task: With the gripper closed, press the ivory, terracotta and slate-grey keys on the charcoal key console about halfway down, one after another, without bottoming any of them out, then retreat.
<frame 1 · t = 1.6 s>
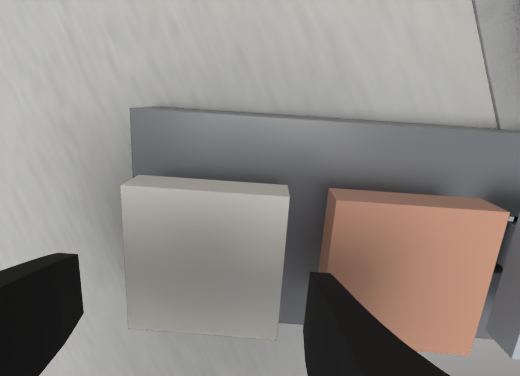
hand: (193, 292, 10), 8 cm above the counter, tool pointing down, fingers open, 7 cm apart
ivory key: (214, 240, 13), point 5 cm above the counter, slide at 0.0 cm
key console: (356, 213, 18), on the counter
terracotta key: (385, 253, 13), point 5 cm above the counter, slide at 0.0 cm
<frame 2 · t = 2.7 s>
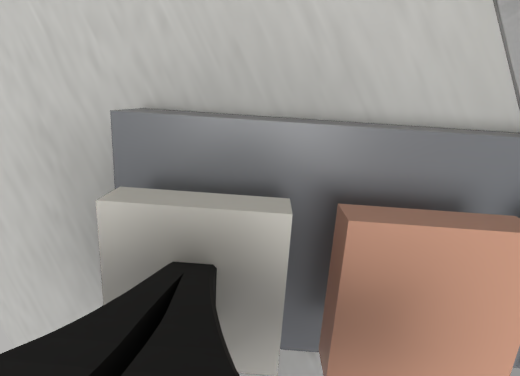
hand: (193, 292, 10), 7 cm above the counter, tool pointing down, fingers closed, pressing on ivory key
ivory key: (207, 259, 12), point 5 cm above the counter, slide at 0.2 cm, touching gripper
key console: (365, 226, 16), on the counter
terracotta key: (401, 276, 12), point 5 cm above the counter, slide at 0.0 cm
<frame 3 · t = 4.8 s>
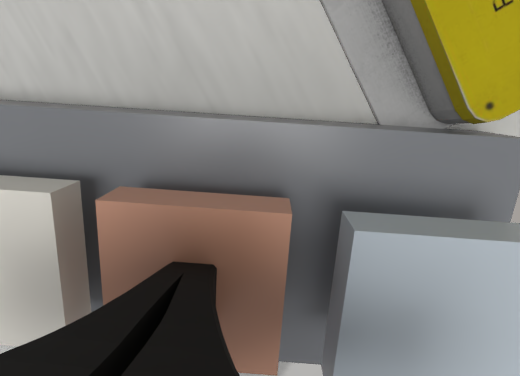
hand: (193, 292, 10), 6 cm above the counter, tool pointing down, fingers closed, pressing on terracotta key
ivory key: (24, 241, 12), point 3 cm above the counter, slide at 1.2 cm
key console: (222, 221, 16), on the counter
terracotta key: (206, 259, 12), point 4 cm above the counter, slide at 0.9 cm, touching gripper
slate key: (409, 287, 11), point 5 cm above the counter, slide at 0.0 cm
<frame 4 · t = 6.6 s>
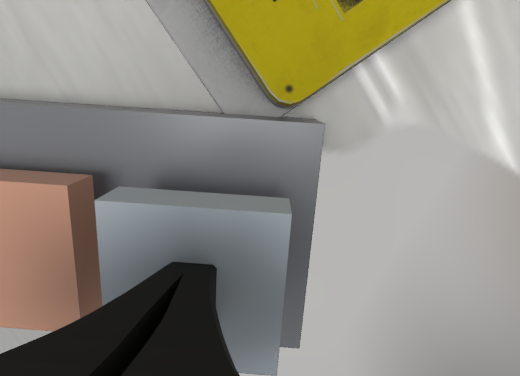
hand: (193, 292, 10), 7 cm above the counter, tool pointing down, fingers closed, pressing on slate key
key console: (86, 205, 16), on the counter
terracotta key: (39, 232, 13), point 3 cm above the counter, slide at 1.2 cm
slate key: (206, 259, 12), point 5 cm above the counter, slide at 0.1 cm, touching gripper
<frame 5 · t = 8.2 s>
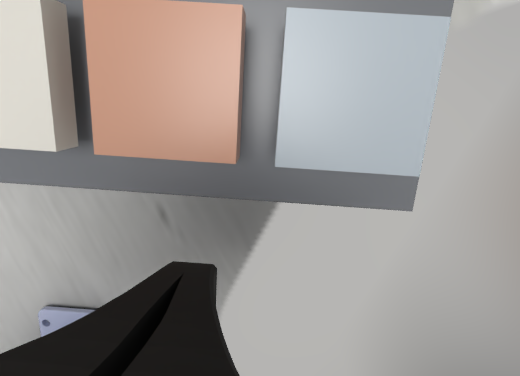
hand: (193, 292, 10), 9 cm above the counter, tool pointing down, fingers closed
ivory key: (19, 76, 14), point 3 cm above the counter, slide at 1.2 cm
key console: (197, 89, 17), on the counter
terracotta key: (180, 86, 14), point 3 cm above the counter, slide at 1.2 cm
slate key: (343, 97, 14), point 3 cm above the counter, slide at 1.2 cm
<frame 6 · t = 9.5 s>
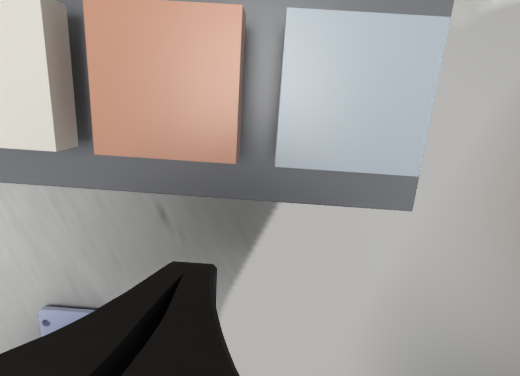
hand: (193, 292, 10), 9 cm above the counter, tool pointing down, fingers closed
ivory key: (19, 76, 14), point 3 cm above the counter, slide at 1.2 cm
key console: (197, 89, 17), on the counter
terracotta key: (180, 86, 14), point 3 cm above the counter, slide at 1.2 cm
slate key: (343, 97, 14), point 3 cm above the counter, slide at 1.2 cm
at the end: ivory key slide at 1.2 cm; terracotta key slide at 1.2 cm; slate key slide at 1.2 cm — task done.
